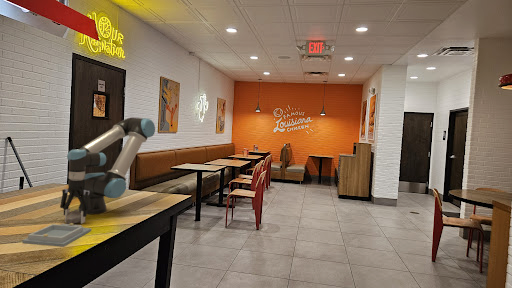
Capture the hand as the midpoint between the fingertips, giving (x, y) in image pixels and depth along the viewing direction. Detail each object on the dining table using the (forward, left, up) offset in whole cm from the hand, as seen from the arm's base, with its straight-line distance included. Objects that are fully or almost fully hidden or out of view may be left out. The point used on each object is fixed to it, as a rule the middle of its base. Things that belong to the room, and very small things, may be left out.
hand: (74, 221), depth 169 cm
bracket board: (+20, +5, -1) cm, 21 cm away
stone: (-1, -1, 0) cm, 1 cm away
